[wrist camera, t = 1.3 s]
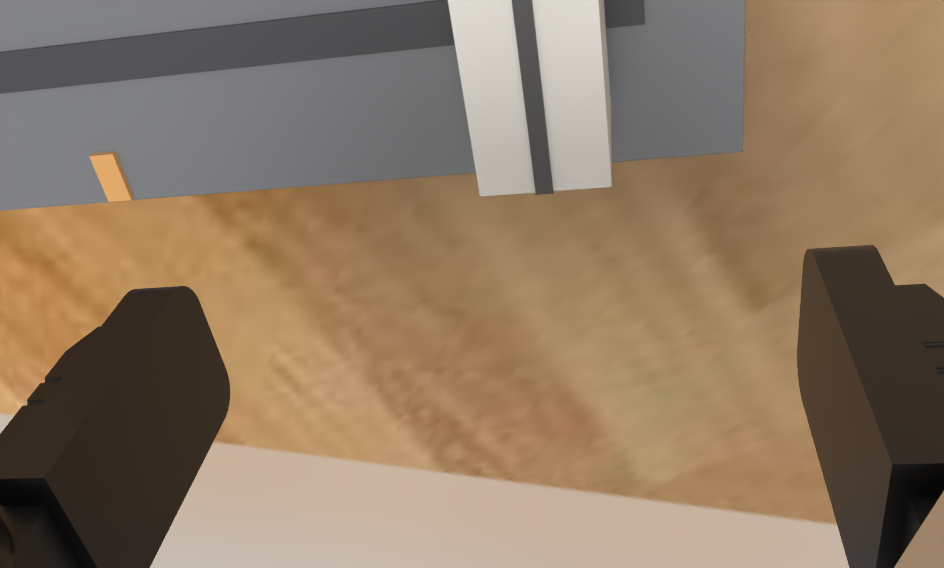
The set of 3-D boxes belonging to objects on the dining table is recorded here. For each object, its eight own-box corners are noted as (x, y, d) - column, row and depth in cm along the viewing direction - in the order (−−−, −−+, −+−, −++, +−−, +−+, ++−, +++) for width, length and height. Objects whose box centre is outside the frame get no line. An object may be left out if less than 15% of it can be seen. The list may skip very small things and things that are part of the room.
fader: (597, -97, 21) (594, -42, 17) (610, 99, 24) (611, 189, 20) (474, -80, 22) (443, -23, 17) (501, 110, 24) (479, 198, 20)
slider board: (738, -224, 21) (750, -215, 19) (733, 122, 26) (743, 155, 24) (-113, -90, 26) (-168, -74, 24) (19, 183, 31) (-18, 214, 29)
